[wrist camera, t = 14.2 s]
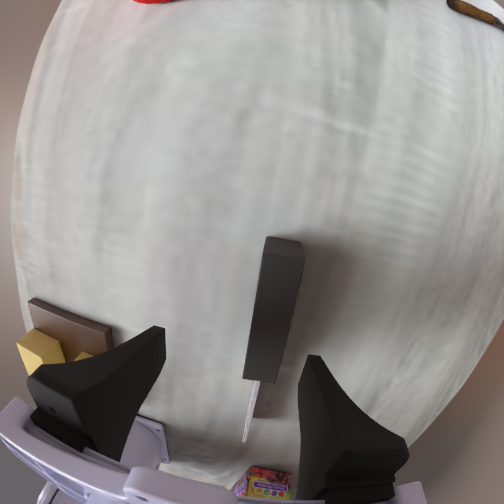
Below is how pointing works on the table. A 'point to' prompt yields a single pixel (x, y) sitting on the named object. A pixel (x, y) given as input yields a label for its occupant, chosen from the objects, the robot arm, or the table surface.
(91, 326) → the board
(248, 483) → the snack box
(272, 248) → the knife
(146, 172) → the table surface
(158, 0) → the soda can
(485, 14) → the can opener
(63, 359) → the butter block
